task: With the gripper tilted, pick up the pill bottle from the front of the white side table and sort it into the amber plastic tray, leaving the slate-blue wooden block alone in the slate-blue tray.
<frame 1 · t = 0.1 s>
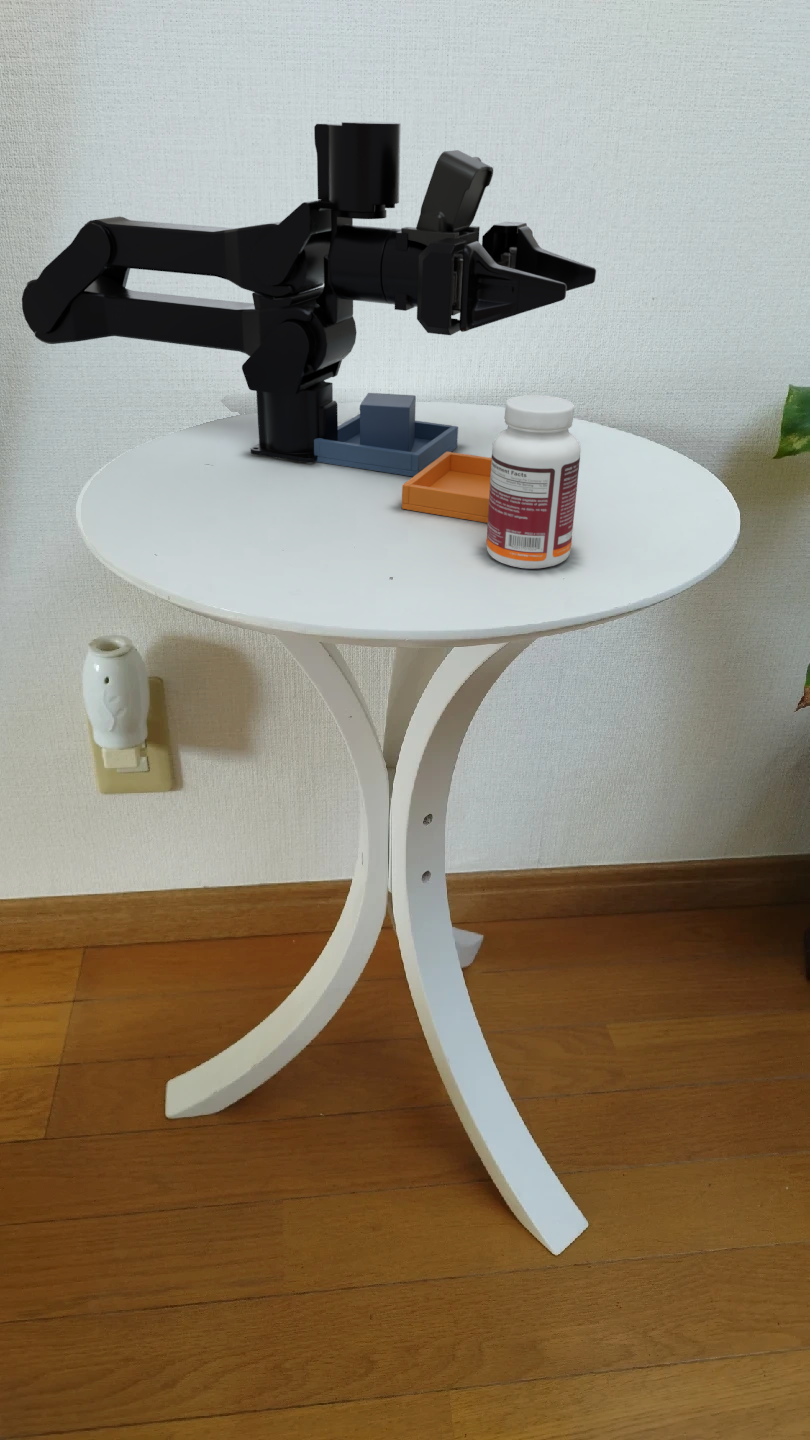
hand: (581, 283, 78), 17 cm above the table, tool horizontal, fingers open, 9 cm apart
amber tray: (481, 499, 85), on the table
slate block: (387, 448, 95), resting on slate tray
pill bottle: (527, 557, 75), on the table
slate tray: (387, 454, 95), on the table
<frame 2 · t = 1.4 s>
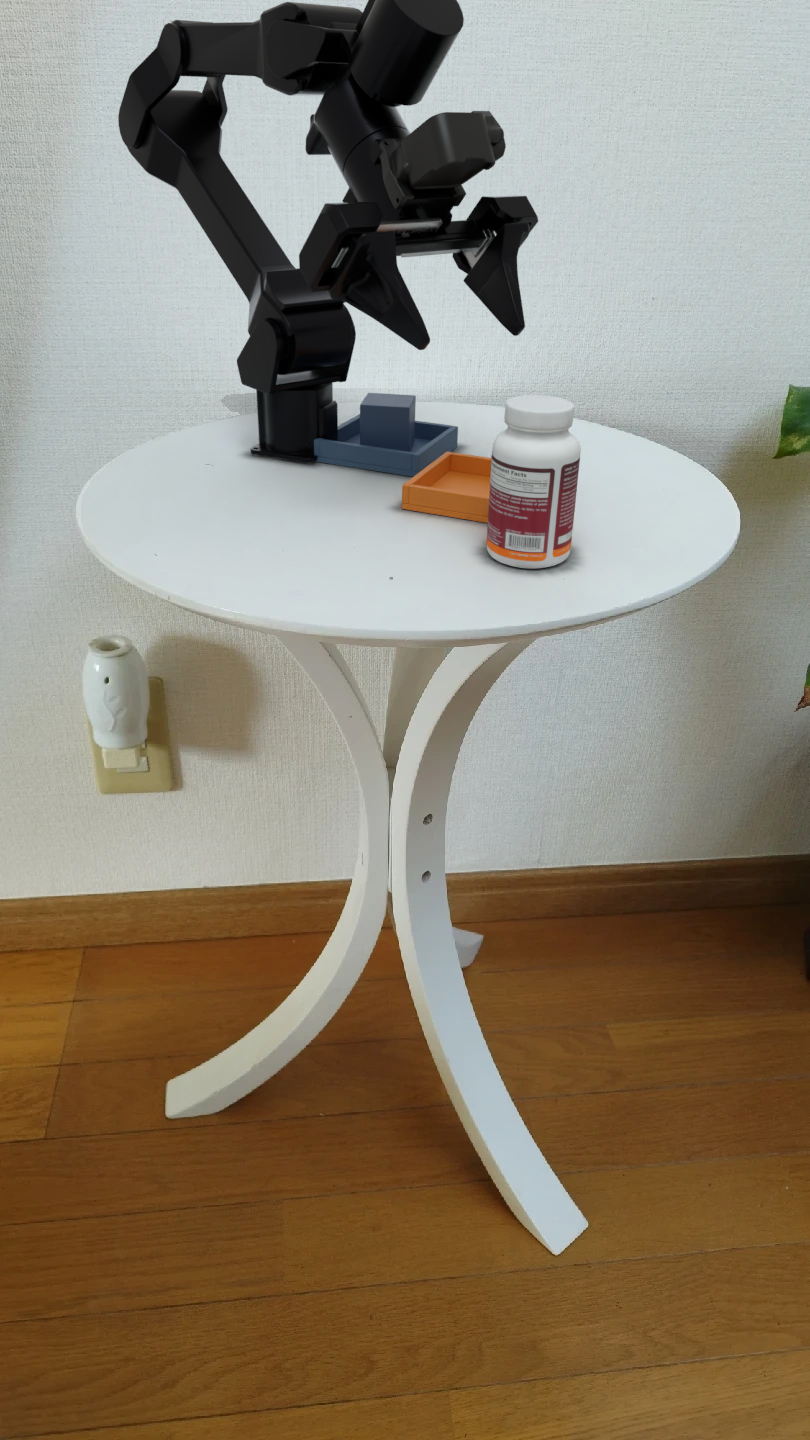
hand: (474, 338, 73), 14 cm above the table, tool tilted 45°, fingers open, 9 cm apart
nothing on the table moved.
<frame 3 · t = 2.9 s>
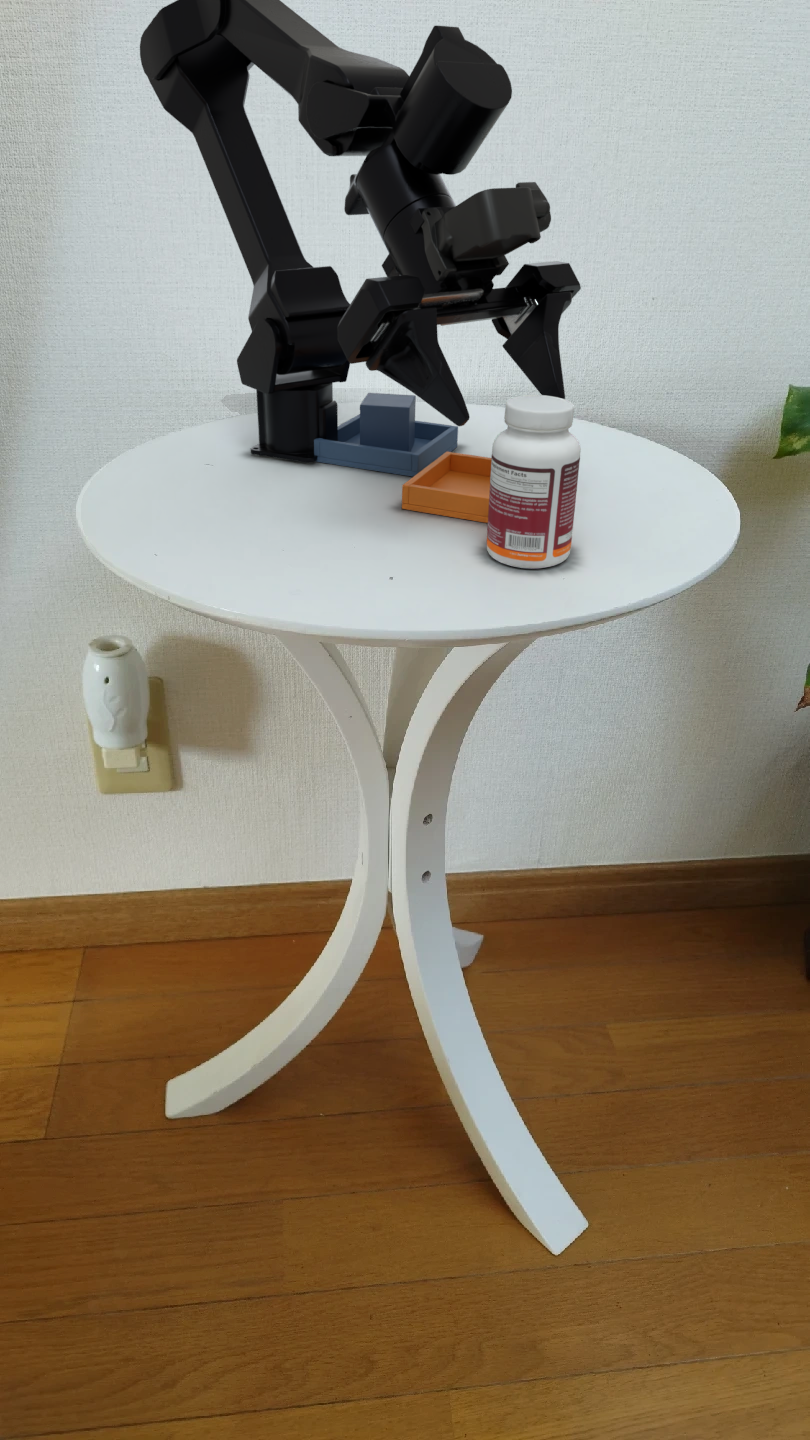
hand: (513, 412, 71), 10 cm above the table, tool tilted 45°, fingers open, 9 cm apart
nothing on the table moved.
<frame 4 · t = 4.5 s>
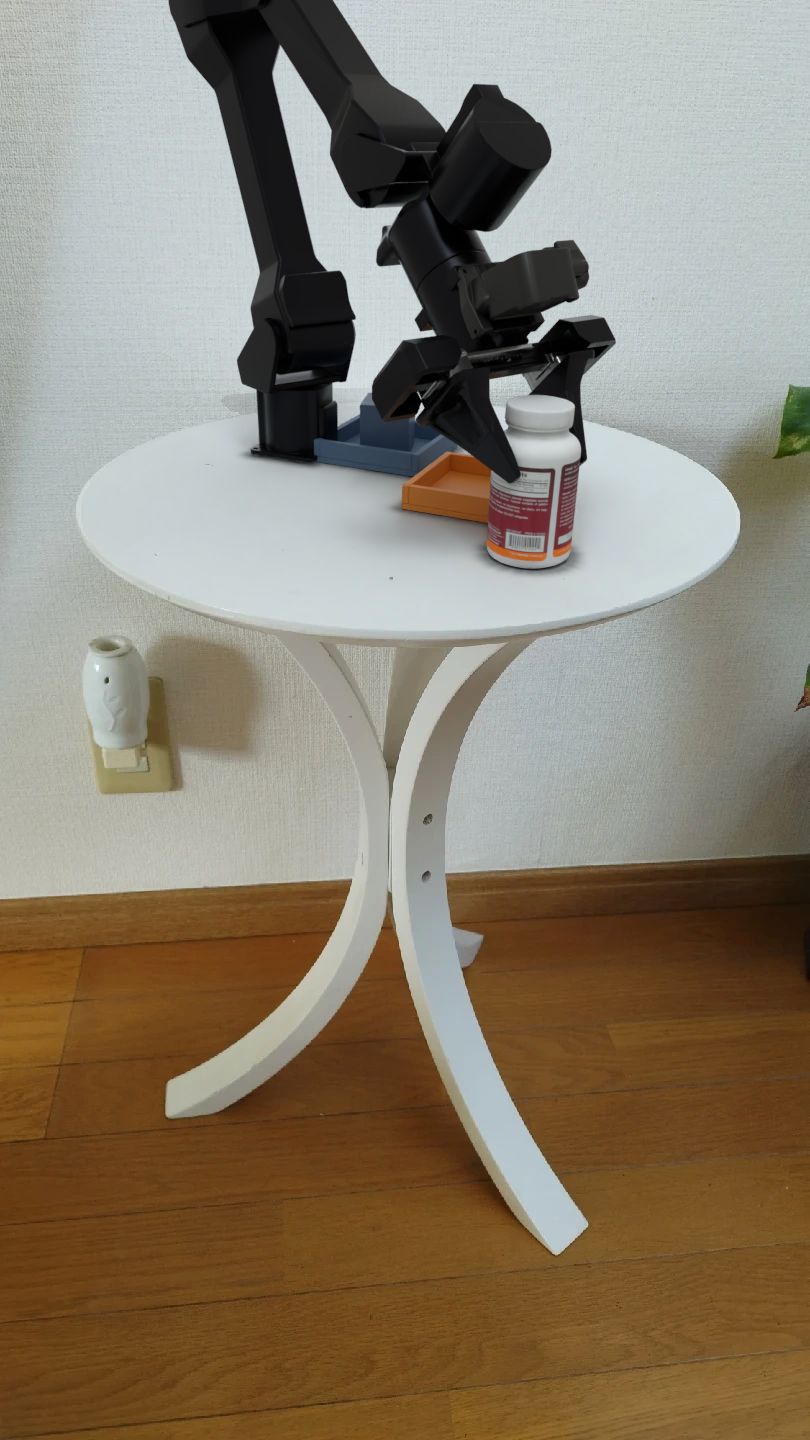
hand: (549, 471, 70), 7 cm above the table, tool tilted 45°, fingers closed on pill bottle, 6 cm apart
pill bottle: (527, 557, 75), on the table, touching gripper
everything else where it was.
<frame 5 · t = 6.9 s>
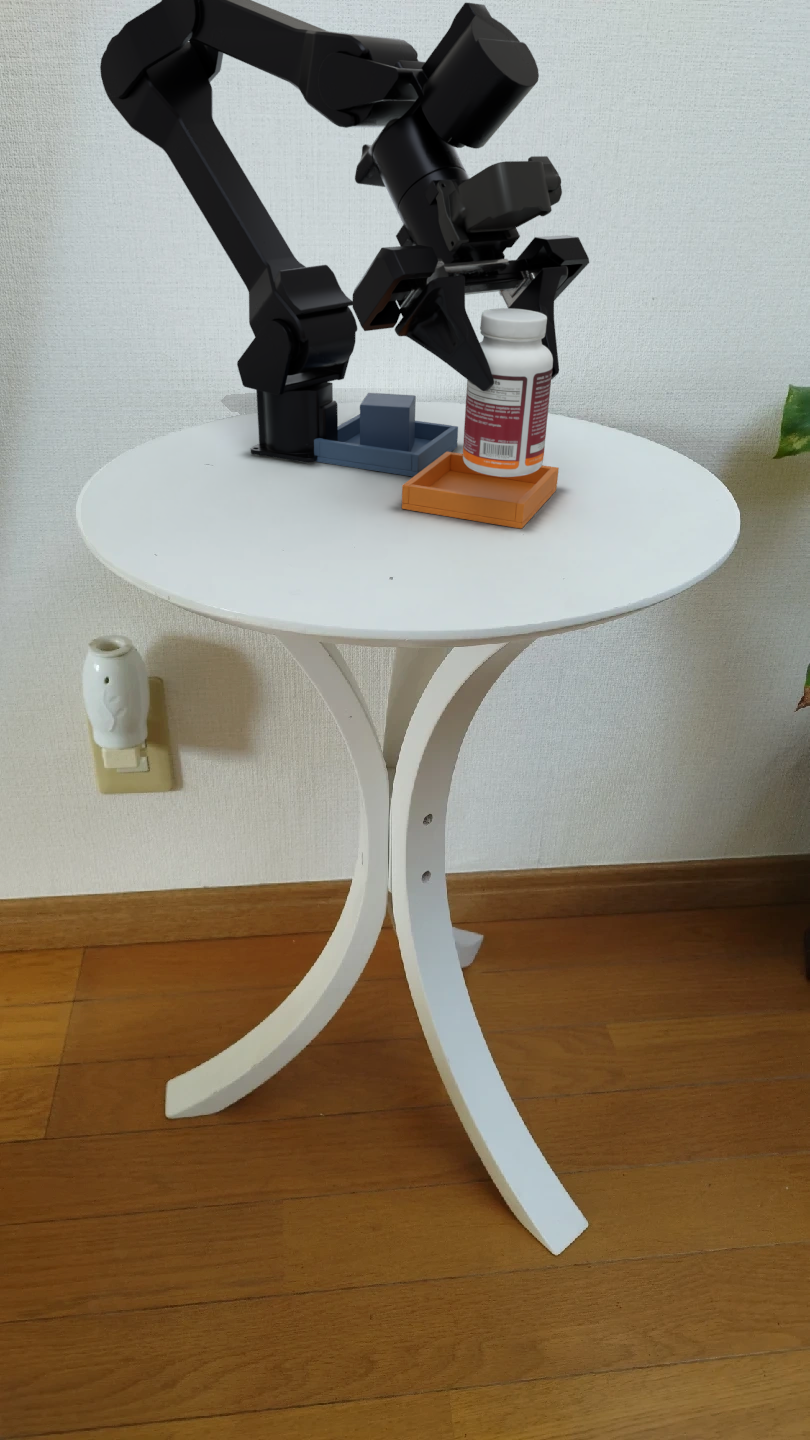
hand: (522, 382, 73), 11 cm above the table, tool tilted 45°, fingers closed on pill bottle, 6 cm apart
pill bottle: (501, 468, 78), point 4 cm above the table, touching gripper
everything else where it was.
when the fingers open (7 cm above the table, at t = 9.4 s): pill bottle stays where it is, resting on amber tray.
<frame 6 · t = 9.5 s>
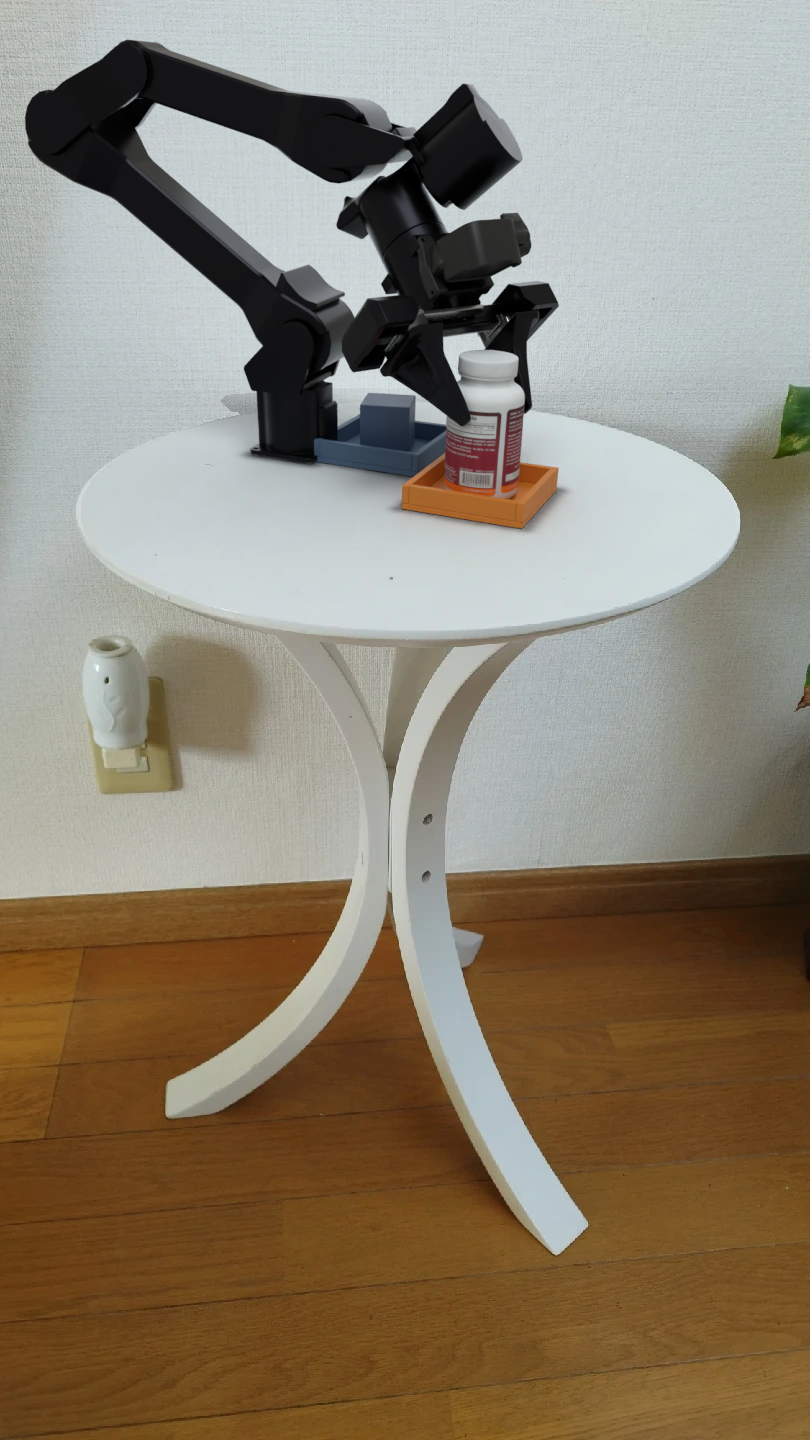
hand: (497, 417, 80), 7 cm above the table, tool tilted 45°, fingers open, 6 cm apart
pill bottle: (479, 495, 85), resting on amber tray
everything else where it was.
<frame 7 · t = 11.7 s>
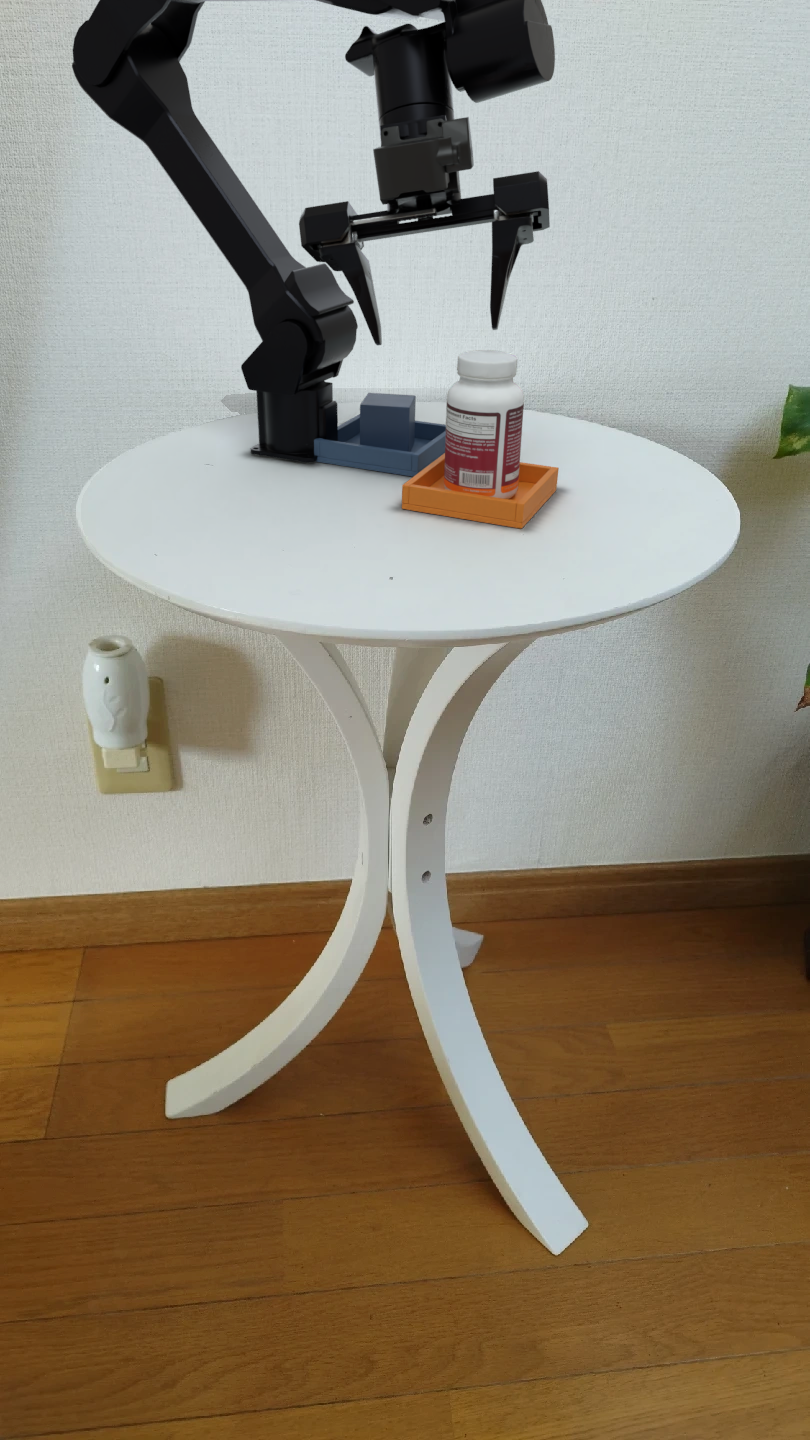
hand: (436, 336, 79), 13 cm above the table, tool tilted 20°, fingers open, 9 cm apart
nothing on the table moved.
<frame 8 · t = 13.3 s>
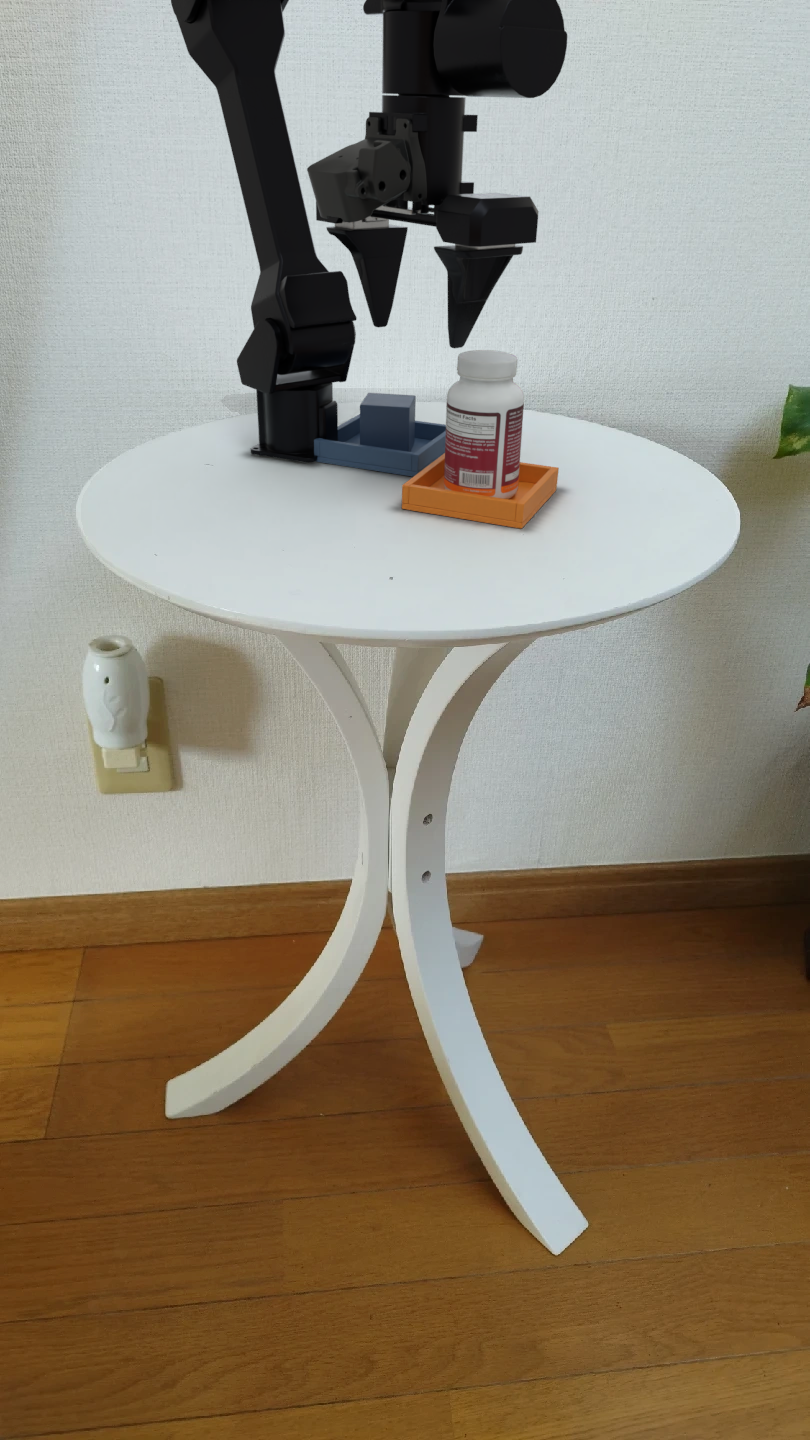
hand: (417, 336, 77), 13 cm above the table, tool pointing down, fingers open, 9 cm apart
nothing on the table moved.
at the end: pill bottle 0.1 cm off-centre in the amber tray, point 0.3 cm above the amber tray's base; pill bottle tilted 0°; slate block moved 0.0 cm from its start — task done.
